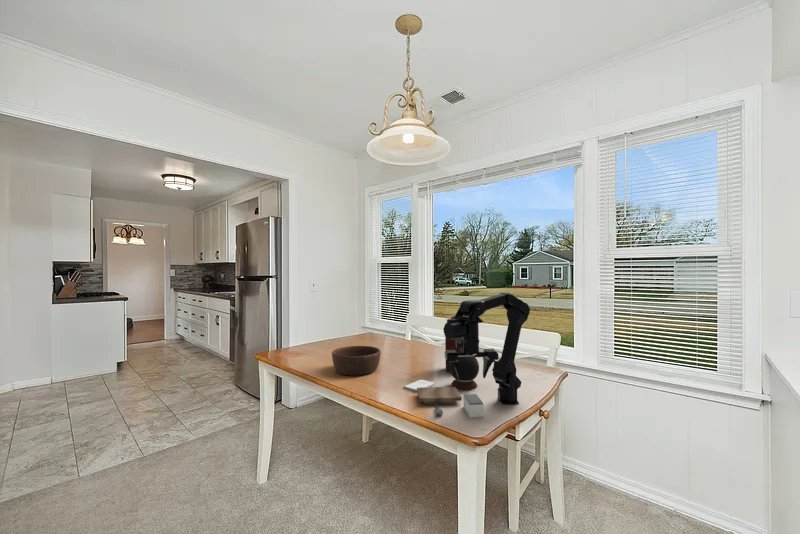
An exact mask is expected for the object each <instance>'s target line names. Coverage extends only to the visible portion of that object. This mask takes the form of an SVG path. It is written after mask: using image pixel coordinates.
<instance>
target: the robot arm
mask: <svg viewBox="0 0 800 534" xmlns="http://www.w3.org/2000/svg"><path fill="white" fill-rule="evenodd" d="M501 306H502V308H504V309H505V310H506V318H507V321H508V325H507V329H506V332H505V333H506V335H505V338H504V342H503V347H502V353H501V356H499V352H498V351H497V350H495V349H494V348H484V349H483V351H480V338H479V337H480V336H479V333H480V332H479V329H480V328H479V324H481V323H482V324H483V323H484V320H483V319H481V316H482V315H484V313H485V312H487V311H489V310H492V309H495V308H497V307H501ZM530 311H531V308H530V305H529V303H527V302H524V301H523V300H522V299H519V298H517V296H515V295H514V294H512V293H510V292H500V293H499V294H495V295H492V296H489V297H485V298H482V299H479V300H475V299H474V300H473V299H472V300H470V299H469V300H463V301H461V303H460V305H459V308H458V309H457V312H456V313H455V315H454V316H455V317H454V319H451V318H448V319H446V323H445V324H444V327H443V330H442V331H443V335H444V337H445V336H446V338H448V339H452V338H459V337H463V338H462V341H461V339H456V348H461V351H463V352H456V350H446V351H445V350H444V359H445V361H446V360H447V361H450V363H453V365H454V367H455V370H456V373H457V376H458V379H460V369H459V362H458V360H457V359H458V358H465V357H475V358H482V360H483V361H482V362H483V366H482V367H483V368H482V378H483V379H486V377H487V374H488V372H489V370H490V369H491V366H492V364H493V367H492V369H491V371H492V376H493V379H494V381H495V382H494V383H495V384H498V388H497V399H498V400H499V402H500V403H501V404H502V405H517V404H520V401H518V390H519V388H521V386H522V381H521V379H520V378H518V376H517V367H516V364H515V358H516V353H517V348H518V344H519V340H520V335H521V331H522V326H523V325H524V324H525V323H526V321H527V320H528V319H529V315H530ZM466 354H469V355H466ZM499 357H500V358H499Z"/></svg>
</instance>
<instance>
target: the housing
mask: <svg viewBox="0 0 800 534" xmlns="http://www.w3.org/2000/svg"><path fill="white" fill-rule="evenodd" d="M463 409H464V411H465V412H466V414H467V415H468V416H469V418H478V417H479V418H483V417H485V410H484V409H485V404H484V402H483V401H482V400H481V398H480V397H479V396H478V394H476V393H465V394H463Z"/></svg>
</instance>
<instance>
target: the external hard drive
mask: <svg viewBox="0 0 800 534" xmlns="http://www.w3.org/2000/svg"><path fill="white" fill-rule="evenodd" d="M435 385H436V383H435V382H433V381H429V380H426V379H425V380H424V379H419V380H416V381H413V382H411V383H408V384H405V385H403V389H404V390H406V389H407V390H406V391H410V392H411V391H412V392H414V393H417V388H425V387H435Z"/></svg>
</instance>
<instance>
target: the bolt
mask: <svg viewBox="0 0 800 534" xmlns="http://www.w3.org/2000/svg"><path fill="white" fill-rule="evenodd" d="M434 410H435V411H434V413H435V415H436V416H437V417H441V416H443V414H444V411H443V409H442V408H441V407H440V406H439V404H435V406H434Z"/></svg>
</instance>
